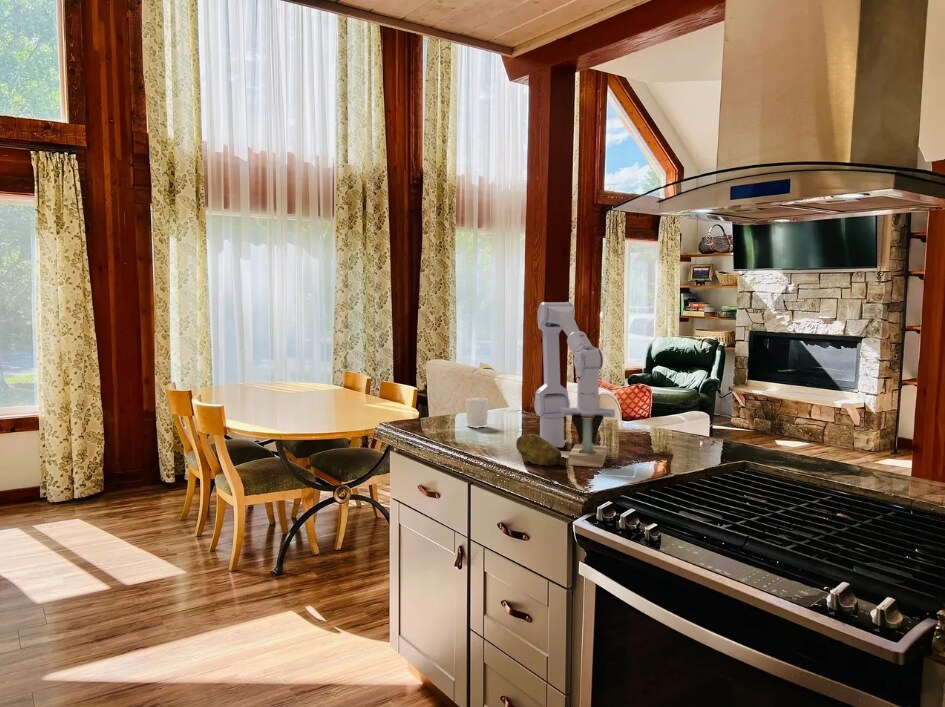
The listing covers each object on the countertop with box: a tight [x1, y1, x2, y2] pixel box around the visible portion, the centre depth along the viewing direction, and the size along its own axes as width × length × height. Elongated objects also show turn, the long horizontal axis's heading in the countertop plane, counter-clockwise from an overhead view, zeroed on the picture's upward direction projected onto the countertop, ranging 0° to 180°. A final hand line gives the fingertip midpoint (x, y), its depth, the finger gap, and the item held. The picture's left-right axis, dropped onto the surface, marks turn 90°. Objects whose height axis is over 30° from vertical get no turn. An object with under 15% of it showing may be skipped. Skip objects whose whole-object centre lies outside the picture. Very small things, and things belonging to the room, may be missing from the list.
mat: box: [559, 450, 571, 459], centre depth 205 cm, size 8×6×1 cm
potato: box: [515, 432, 563, 467], centre depth 194 cm, size 8×13×8 cm, turn 36°
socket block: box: [568, 444, 607, 468], centre depth 198 cm, size 14×9×3 cm, turn 165°
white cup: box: [465, 396, 489, 427], centre depth 250 cm, size 8×8×10 cm
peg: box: [581, 417, 594, 454], centre depth 195 cm, size 3×3×10 cm
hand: (587, 442), depth 195 cm, fingers closed on peg, 3 cm apart
